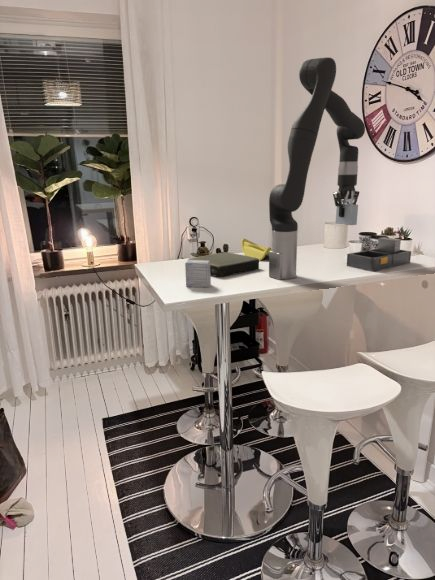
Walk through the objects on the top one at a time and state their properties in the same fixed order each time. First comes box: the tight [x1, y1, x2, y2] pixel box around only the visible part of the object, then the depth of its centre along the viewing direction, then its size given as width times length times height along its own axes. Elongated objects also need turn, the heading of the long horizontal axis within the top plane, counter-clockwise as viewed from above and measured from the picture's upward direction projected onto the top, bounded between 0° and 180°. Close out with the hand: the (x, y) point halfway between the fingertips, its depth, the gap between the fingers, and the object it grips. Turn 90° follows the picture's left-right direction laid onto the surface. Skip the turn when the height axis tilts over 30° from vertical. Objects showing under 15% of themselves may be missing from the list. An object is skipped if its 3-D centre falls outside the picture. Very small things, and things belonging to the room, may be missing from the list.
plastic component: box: [240, 238, 271, 262], centre depth 195 cm, size 20×7×10 cm
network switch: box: [187, 251, 260, 278], centre depth 171 cm, size 23×23×5 cm
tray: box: [346, 236, 412, 273], centre depth 172 cm, size 24×13×10 cm, turn 123°
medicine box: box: [184, 260, 212, 288], centre depth 146 cm, size 8×4×9 cm, turn 78°
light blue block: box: [335, 203, 359, 226], centre depth 174 cm, size 4×8×8 cm, turn 34°
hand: (344, 216), depth 175 cm, fingers closed on light blue block, 3 cm apart
